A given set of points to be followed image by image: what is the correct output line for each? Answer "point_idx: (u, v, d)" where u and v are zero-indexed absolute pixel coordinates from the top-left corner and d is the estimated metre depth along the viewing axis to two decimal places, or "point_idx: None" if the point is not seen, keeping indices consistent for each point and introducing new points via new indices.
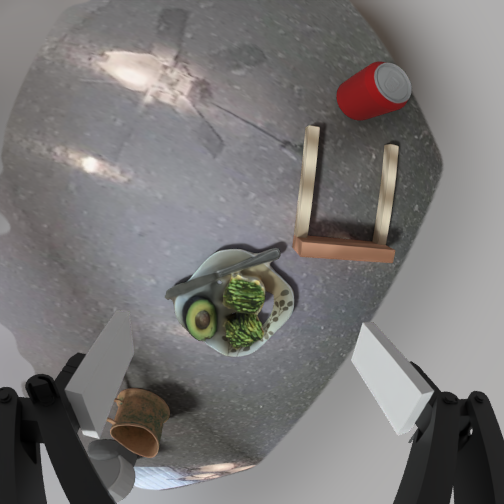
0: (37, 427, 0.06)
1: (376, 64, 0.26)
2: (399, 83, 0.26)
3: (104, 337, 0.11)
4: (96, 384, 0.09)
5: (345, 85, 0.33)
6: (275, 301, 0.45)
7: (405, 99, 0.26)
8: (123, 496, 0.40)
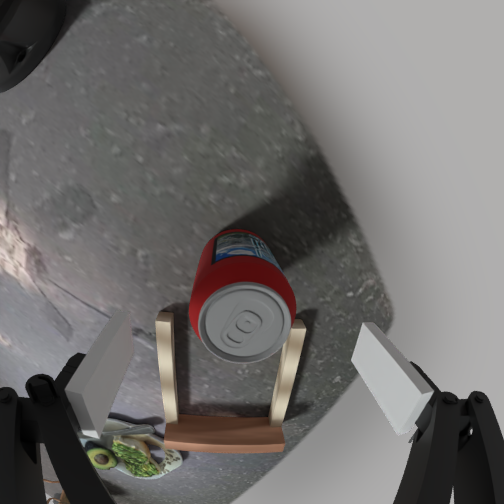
0: (37, 427, 0.06)
1: (209, 286, 0.16)
2: (260, 324, 0.16)
3: (104, 337, 0.11)
4: (96, 384, 0.09)
5: (198, 266, 0.23)
6: (165, 452, 0.35)
7: (270, 352, 0.17)
8: None
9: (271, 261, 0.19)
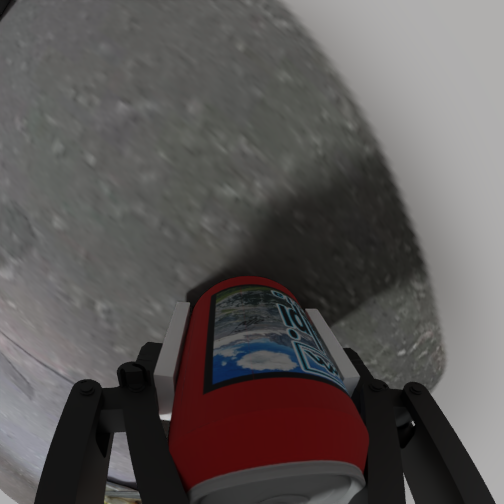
0: (123, 415, 0.08)
1: (202, 461, 0.05)
2: (306, 501, 0.06)
3: (175, 325, 0.13)
4: (177, 368, 0.11)
5: (183, 348, 0.12)
6: None
7: None
8: None
9: (326, 372, 0.08)
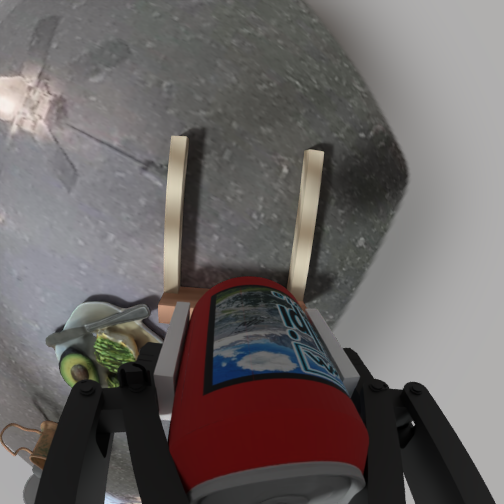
0: (123, 415, 0.08)
1: (202, 462, 0.05)
2: (306, 501, 0.06)
3: (175, 325, 0.13)
4: (177, 368, 0.11)
5: (183, 349, 0.12)
6: None
7: None
8: None
9: (326, 373, 0.08)
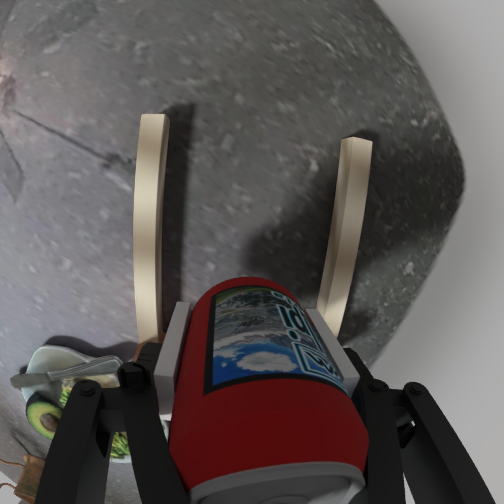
0: (123, 415, 0.08)
1: (202, 462, 0.05)
2: (306, 501, 0.06)
3: (175, 325, 0.13)
4: (177, 368, 0.11)
5: (183, 349, 0.12)
6: None
7: None
8: None
9: (326, 373, 0.08)
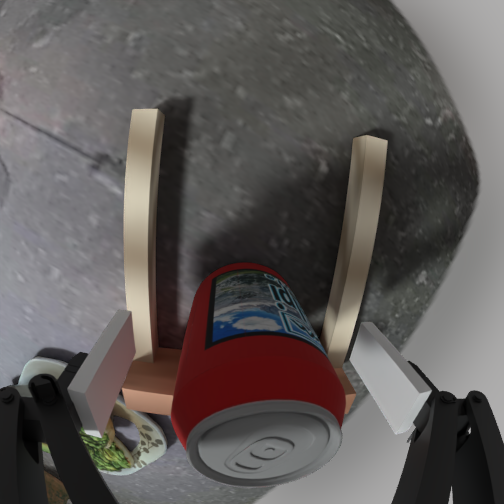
0: (40, 427, 0.06)
1: (202, 401, 0.08)
2: (291, 448, 0.08)
3: (106, 336, 0.11)
4: (98, 383, 0.09)
5: (187, 324, 0.15)
6: (140, 431, 0.22)
7: (302, 473, 0.08)
8: None
9: (307, 336, 0.10)
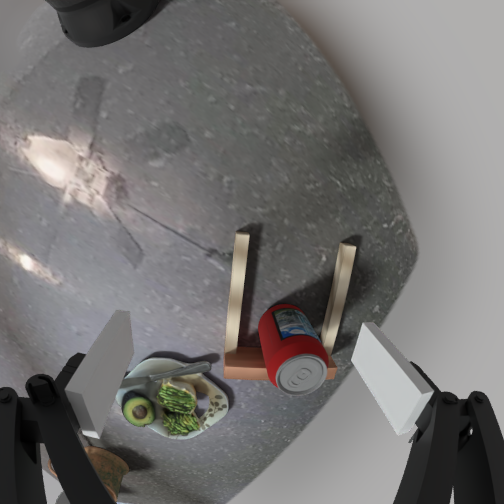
0: (37, 427, 0.06)
1: (284, 356, 0.26)
2: (310, 374, 0.27)
3: (104, 337, 0.11)
4: (96, 384, 0.09)
5: (262, 333, 0.33)
6: (210, 401, 0.40)
7: (314, 388, 0.27)
8: None
9: (314, 336, 0.29)
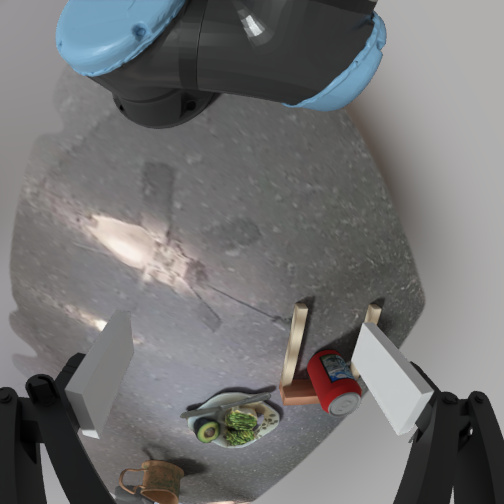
0: (37, 427, 0.06)
1: (334, 394, 0.37)
2: (350, 403, 0.37)
3: (104, 337, 0.11)
4: (96, 384, 0.09)
5: (313, 373, 0.44)
6: (265, 418, 0.51)
7: (351, 411, 0.37)
8: None
9: (352, 377, 0.40)
